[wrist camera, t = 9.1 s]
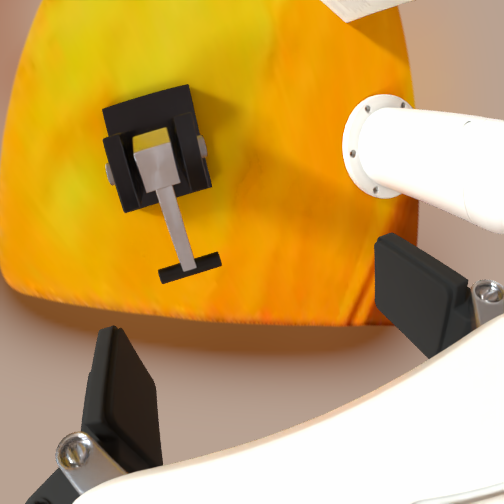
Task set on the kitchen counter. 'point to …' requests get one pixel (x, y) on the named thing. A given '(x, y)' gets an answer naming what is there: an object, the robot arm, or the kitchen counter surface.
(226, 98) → the kitchen counter surface
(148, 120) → the bracket
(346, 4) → the small box
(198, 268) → the lever
